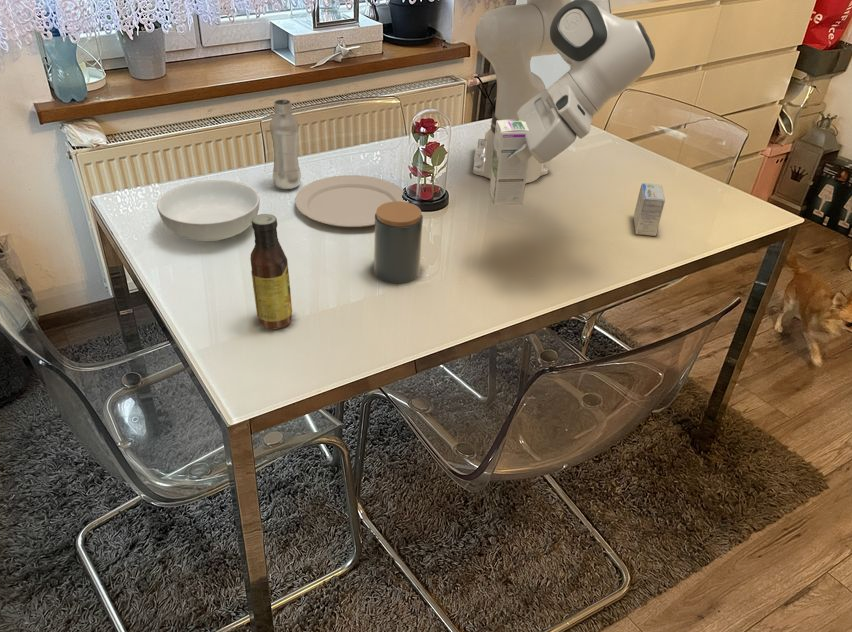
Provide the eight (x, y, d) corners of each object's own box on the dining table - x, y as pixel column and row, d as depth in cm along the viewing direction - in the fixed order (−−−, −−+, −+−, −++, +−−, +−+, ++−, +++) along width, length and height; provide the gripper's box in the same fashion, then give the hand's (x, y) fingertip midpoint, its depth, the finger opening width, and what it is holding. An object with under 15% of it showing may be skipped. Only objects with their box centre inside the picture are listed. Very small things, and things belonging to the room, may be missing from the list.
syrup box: (523, 205, 139) (534, 130, 130) (492, 205, 138) (501, 130, 129) (517, 192, 143) (527, 118, 134) (487, 192, 143) (495, 118, 134)
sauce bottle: (299, 323, 130) (292, 222, 117) (267, 335, 127) (258, 232, 115) (281, 306, 134) (273, 207, 122) (250, 316, 131) (239, 216, 119)
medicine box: (655, 237, 158) (666, 200, 153) (634, 234, 159) (644, 197, 153) (652, 220, 164) (662, 184, 159) (632, 218, 165) (641, 182, 160)
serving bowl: (256, 203, 166) (254, 175, 162) (267, 248, 150) (264, 218, 146) (162, 211, 162) (156, 182, 158) (162, 259, 146) (156, 228, 142)
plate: (332, 174, 180) (332, 166, 178) (427, 198, 170) (427, 190, 169) (273, 216, 161) (272, 208, 160) (375, 245, 152) (375, 236, 151)
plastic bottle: (267, 185, 174) (261, 101, 162) (291, 178, 177) (286, 95, 165) (283, 195, 170) (278, 109, 158) (307, 187, 174) (303, 102, 162)
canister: (372, 259, 148) (373, 200, 140) (417, 259, 148) (420, 200, 140) (375, 283, 141) (376, 223, 133) (421, 283, 141) (425, 222, 133)
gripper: (549, 71, 136) (491, 121, 142) (569, 109, 120) (502, 164, 126) (569, 96, 139) (511, 144, 145) (591, 137, 123) (524, 189, 129)
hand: (507, 154), depth 135 cm, fingers closed on syrup box, 6 cm apart
